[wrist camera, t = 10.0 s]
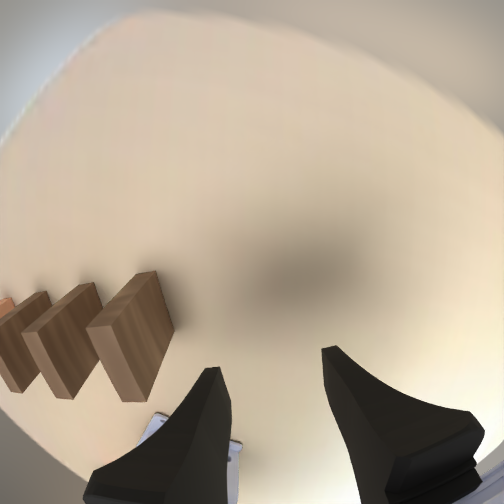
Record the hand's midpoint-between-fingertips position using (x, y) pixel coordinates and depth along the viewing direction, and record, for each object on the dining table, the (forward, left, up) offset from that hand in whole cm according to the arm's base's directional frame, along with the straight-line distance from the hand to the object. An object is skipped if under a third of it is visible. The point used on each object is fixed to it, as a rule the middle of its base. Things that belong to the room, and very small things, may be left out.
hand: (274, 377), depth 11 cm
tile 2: (+10, +9, -10) cm, 17 cm away
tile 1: (+6, +5, -10) cm, 13 cm away
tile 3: (+15, +12, -10) cm, 21 cm away
